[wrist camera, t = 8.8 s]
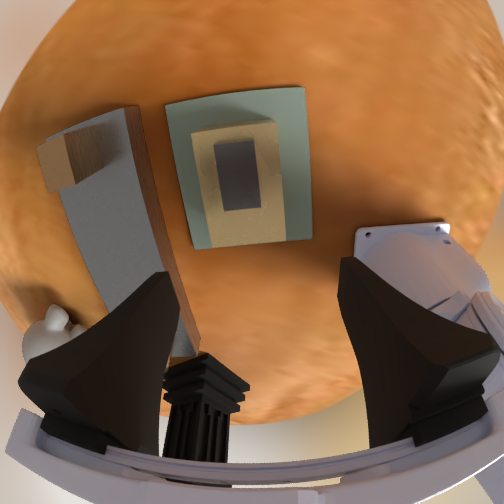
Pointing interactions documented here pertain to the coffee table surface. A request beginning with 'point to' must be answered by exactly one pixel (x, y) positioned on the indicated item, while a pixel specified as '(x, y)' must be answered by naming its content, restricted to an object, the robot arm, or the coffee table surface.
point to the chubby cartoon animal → (49, 333)
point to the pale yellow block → (241, 182)
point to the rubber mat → (238, 110)
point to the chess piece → (201, 411)
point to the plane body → (115, 210)
